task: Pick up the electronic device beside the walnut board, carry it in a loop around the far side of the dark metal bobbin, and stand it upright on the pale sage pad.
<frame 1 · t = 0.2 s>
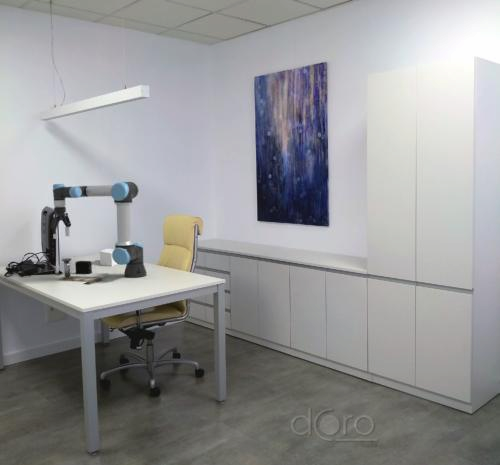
hand: (61, 237, 370), 27 cm above the table, tool pointing down, fingers open, 13 cm apart
white rectangular block: (110, 263, 424), on the table
walnut board: (78, 281, 357), on the table
electronic device: (84, 275, 376), on the table
bobbin: (67, 278, 359), resting on walnut board
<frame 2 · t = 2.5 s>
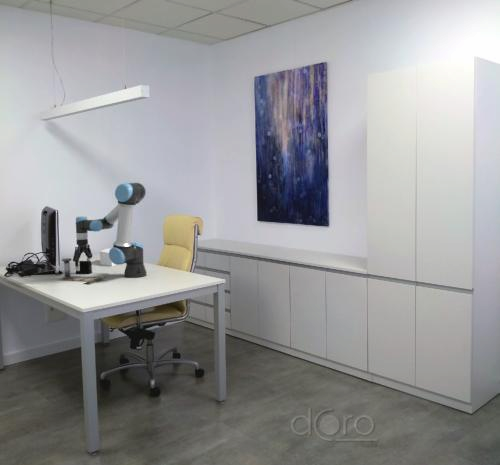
hand: (83, 269, 375), 5 cm above the table, tool pointing down, fingers open, 13 cm apart
nothing on the table moved.
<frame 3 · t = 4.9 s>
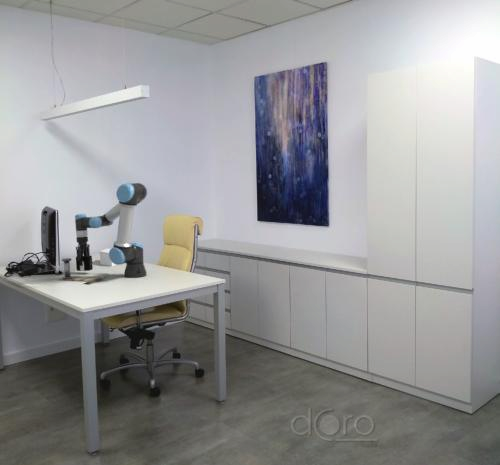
hand: (84, 269, 375), 4 cm above the table, tool pointing down, fingers closed on electronic device, 4 cm apart
electronic device: (84, 270, 375), point 4 cm above the table, touching gripper
everything else where it was.
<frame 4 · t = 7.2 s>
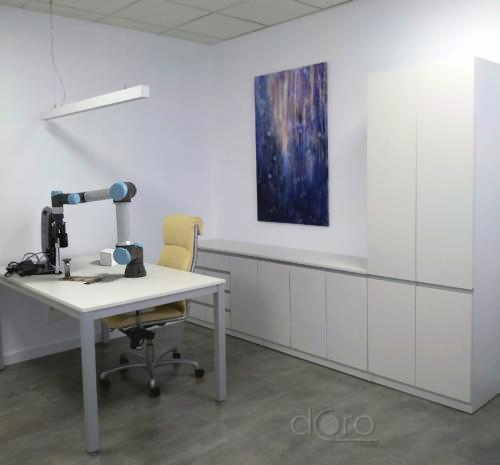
hand: (59, 247, 370), 21 cm above the table, tool pointing down, fingers closed on electronic device, 4 cm apart
electronic device: (60, 247, 370), point 20 cm above the table, touching gripper
everything else where it was.
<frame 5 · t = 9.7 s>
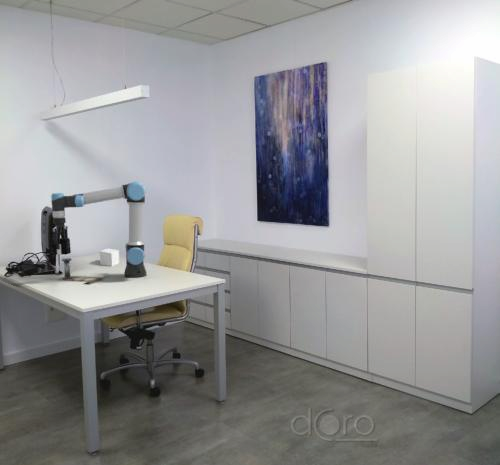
hand: (61, 253, 346), 20 cm above the table, tool pointing down, fingers closed on electronic device, 4 cm apart
electronic device: (62, 254, 346), point 19 cm above the table, touching gripper
everything else where it was.
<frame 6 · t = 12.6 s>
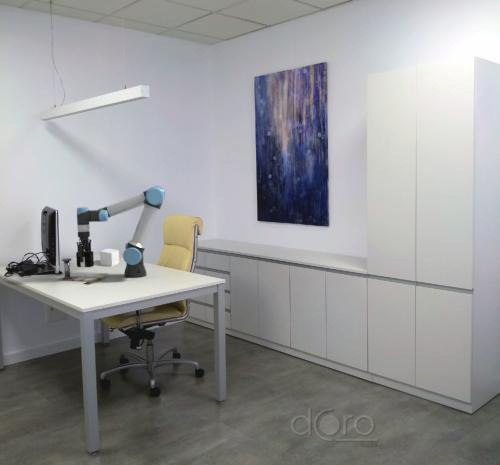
hand: (85, 266, 354), 10 cm above the table, tool pointing down, fingers closed on electronic device, 4 cm apart
electronic device: (85, 266, 354), point 10 cm above the table, touching gripper
everything else where it was.
when the fingers open (2 cm above the table, at t = 14.8 s): electronic device stays where it is, resting on walnut board.
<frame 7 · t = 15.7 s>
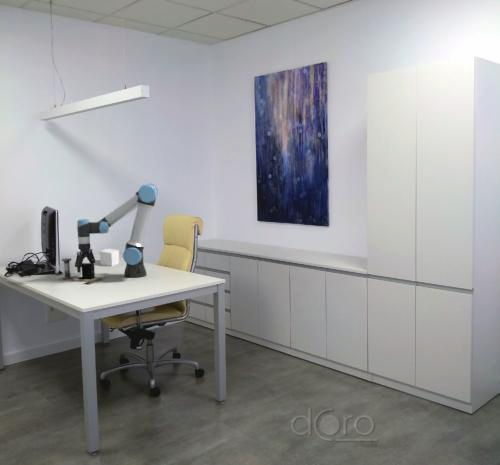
hand: (86, 275, 355), 4 cm above the table, tool pointing down, fingers open, 13 cm apart
electronic device: (86, 279, 355), point 2 cm above the table, touching walnut board
everything else where it was.
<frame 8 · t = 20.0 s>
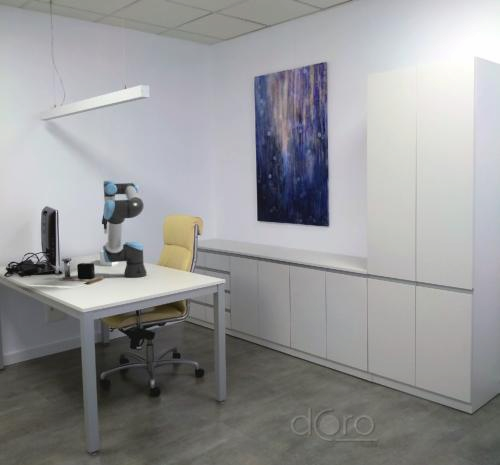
hand: (111, 232, 383), 29 cm above the table, tool pointing down, fingers open, 13 cm apart
nothing on the table moved.
at the end: electronic device inside the target area (0.2 cm from its centre), point 1.6 cm above the table; electronic device tilted 0°; the gripper is holding nothing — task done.
